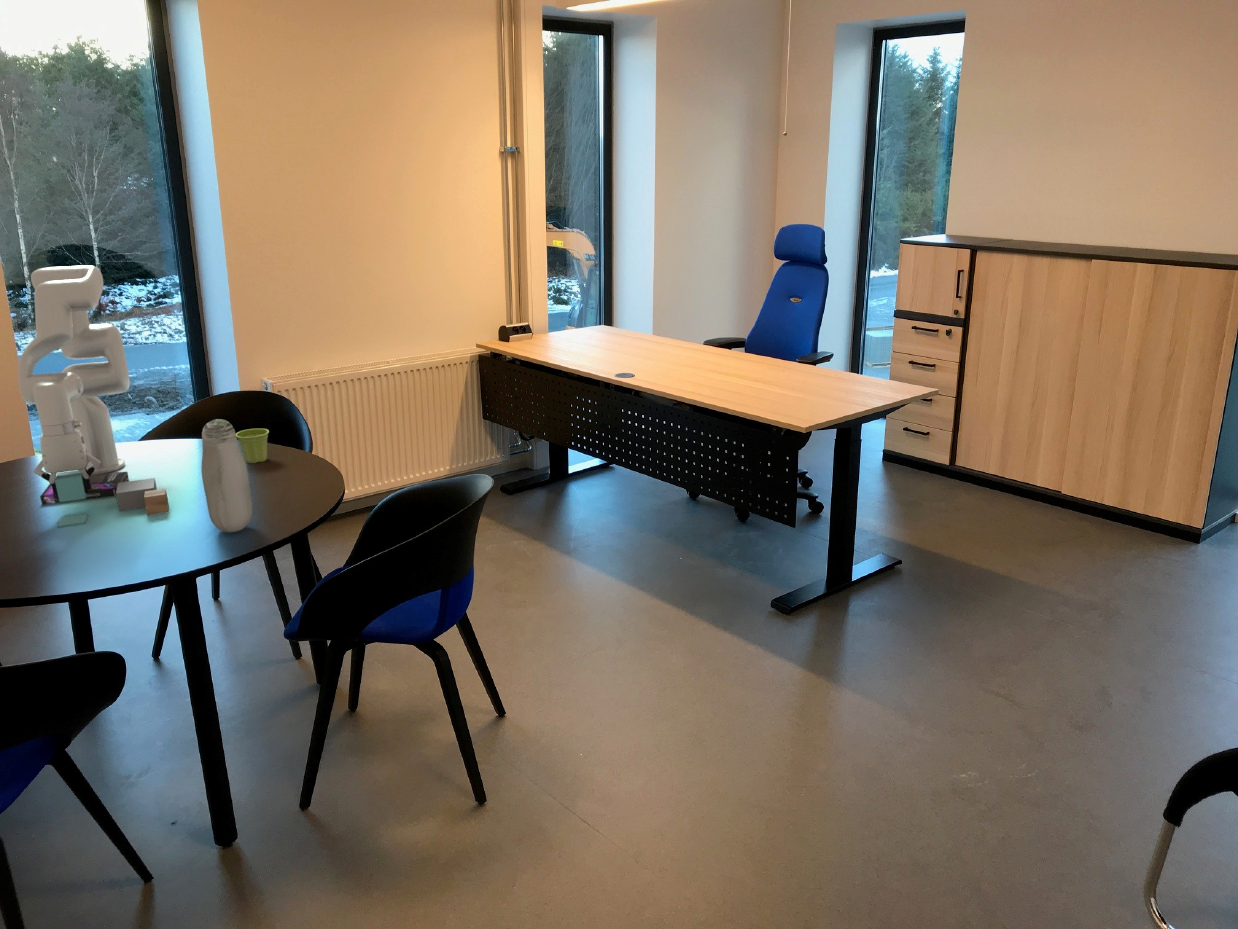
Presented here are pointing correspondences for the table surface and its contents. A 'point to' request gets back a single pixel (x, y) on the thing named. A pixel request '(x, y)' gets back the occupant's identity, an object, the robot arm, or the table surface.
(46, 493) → the box
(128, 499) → the grey square block
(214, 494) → the white bottle
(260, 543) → the table surface
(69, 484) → the teal cube
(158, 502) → the walnut cube
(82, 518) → the tile
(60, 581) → the table surface
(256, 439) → the plant pot
